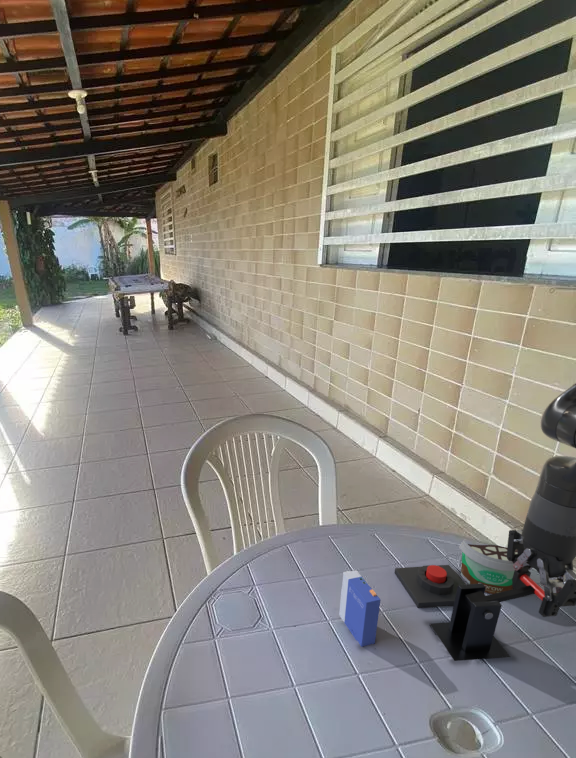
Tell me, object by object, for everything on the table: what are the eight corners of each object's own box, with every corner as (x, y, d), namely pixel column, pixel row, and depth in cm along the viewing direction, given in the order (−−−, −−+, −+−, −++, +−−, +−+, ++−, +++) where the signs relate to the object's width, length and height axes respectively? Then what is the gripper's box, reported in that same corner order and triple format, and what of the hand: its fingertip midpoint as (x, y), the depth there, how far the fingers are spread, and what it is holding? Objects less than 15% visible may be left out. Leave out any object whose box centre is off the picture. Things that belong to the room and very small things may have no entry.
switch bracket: (479, 624, 81) (492, 576, 77) (510, 662, 74) (525, 611, 69) (428, 628, 81) (437, 579, 77) (453, 666, 74) (465, 615, 69)
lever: (527, 581, 76) (527, 571, 75) (553, 605, 71) (553, 594, 70) (459, 597, 77) (459, 587, 76) (479, 622, 72) (479, 611, 71)
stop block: (447, 572, 94) (450, 557, 93) (476, 607, 85) (480, 592, 83) (393, 575, 94) (395, 561, 93) (417, 611, 85) (420, 596, 83)
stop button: (439, 571, 90) (440, 564, 89) (449, 583, 86) (450, 576, 86) (422, 572, 90) (423, 565, 89) (431, 584, 86) (433, 577, 86)
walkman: (374, 648, 78) (381, 597, 73) (360, 651, 77) (366, 601, 73) (351, 614, 85) (356, 567, 81) (338, 617, 85) (342, 570, 80)
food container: (462, 597, 87) (471, 558, 84) (452, 576, 93) (460, 539, 89) (531, 606, 84) (543, 566, 81) (517, 584, 90) (528, 545, 86)
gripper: (623, 547, 61) (590, 634, 67) (544, 494, 74) (522, 570, 81) (572, 551, 61) (543, 637, 67) (501, 497, 74) (483, 573, 81)
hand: (531, 600), depth 74 cm, fingers closed on lever, 5 cm apart
